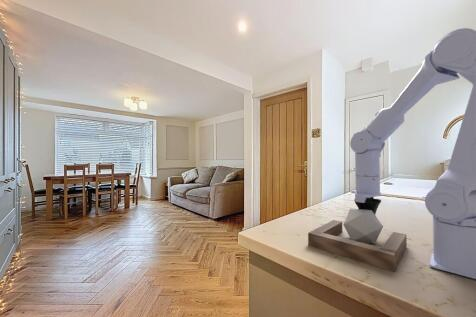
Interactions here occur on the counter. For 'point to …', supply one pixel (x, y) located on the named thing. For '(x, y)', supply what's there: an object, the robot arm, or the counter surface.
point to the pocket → (359, 246)
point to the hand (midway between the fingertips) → (367, 225)
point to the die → (362, 225)
